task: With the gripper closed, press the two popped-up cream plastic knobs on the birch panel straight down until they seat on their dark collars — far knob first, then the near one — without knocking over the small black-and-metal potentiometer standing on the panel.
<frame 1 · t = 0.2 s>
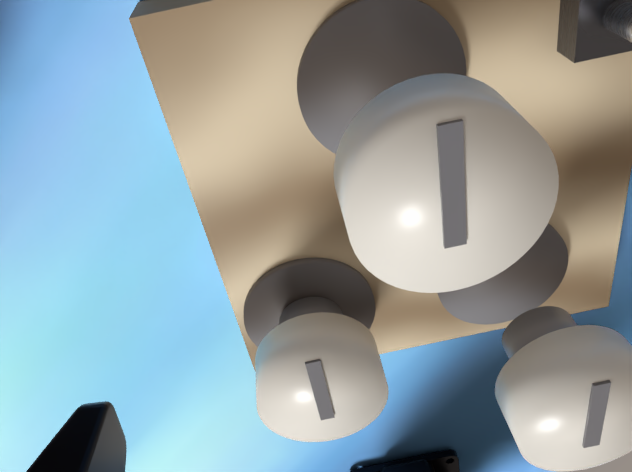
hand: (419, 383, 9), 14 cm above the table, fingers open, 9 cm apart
knob a: (563, 377, 19), point 8 cm above the table, slide at 3.0 cm
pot: (597, 5, 18), point 2 cm above the table, touching panel
knob c: (316, 359, 22), point 5 cm above the table, slide at 0.0 cm
panel: (407, 167, 23), on the table
knob b: (428, 167, 14), point 8 cm above the table, slide at 3.0 cm
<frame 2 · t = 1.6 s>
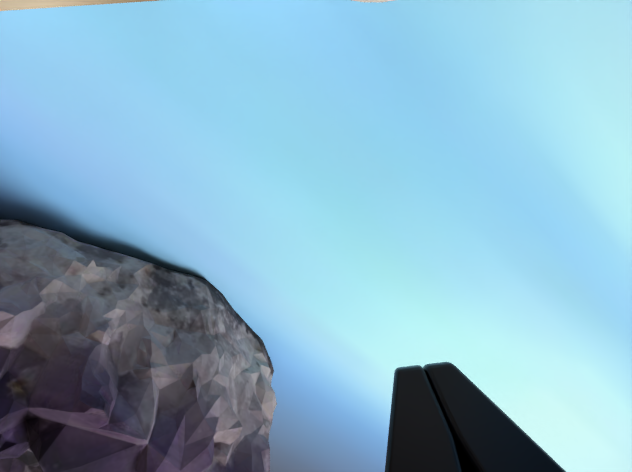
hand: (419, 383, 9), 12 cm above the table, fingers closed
geode: (30, 300, 22), on the table
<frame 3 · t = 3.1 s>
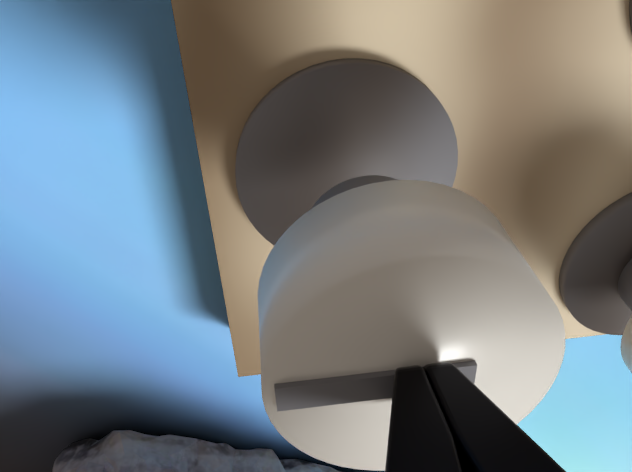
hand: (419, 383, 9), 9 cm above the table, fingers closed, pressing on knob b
panel: (498, 84, 16), on the table
knob b: (387, 294, 10), point 7 cm above the table, slide at 2.1 cm, touching gripper
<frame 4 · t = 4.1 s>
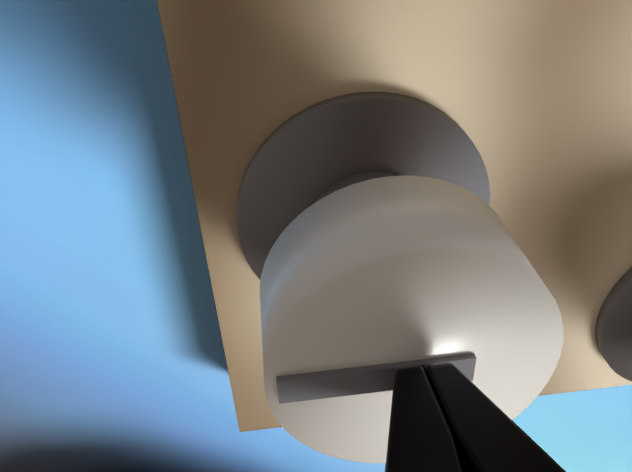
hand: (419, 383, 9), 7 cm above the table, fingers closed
panel: (531, 114, 14), on the table
knob b: (387, 289, 10), point 5 cm above the table, slide at -0.1 cm
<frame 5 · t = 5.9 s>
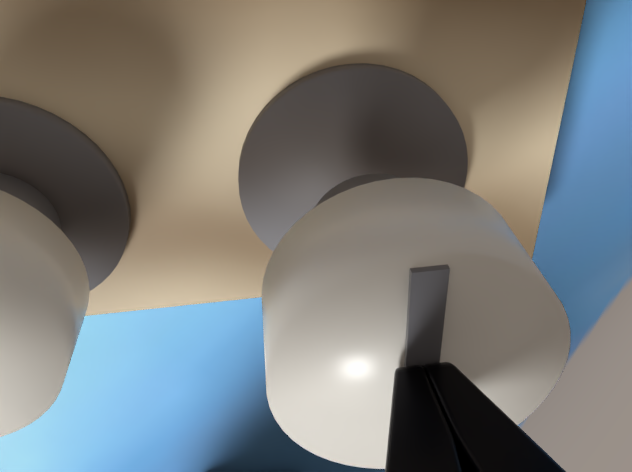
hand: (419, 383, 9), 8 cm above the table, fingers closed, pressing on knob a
knob a: (391, 292, 10), point 6 cm above the table, slide at 1.6 cm, touching gripper
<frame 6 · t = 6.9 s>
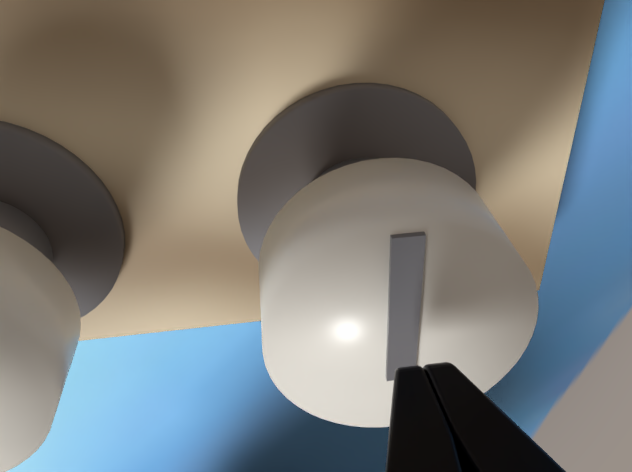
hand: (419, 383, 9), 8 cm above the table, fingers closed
knob a: (378, 266, 11), point 5 cm above the table, slide at -0.1 cm
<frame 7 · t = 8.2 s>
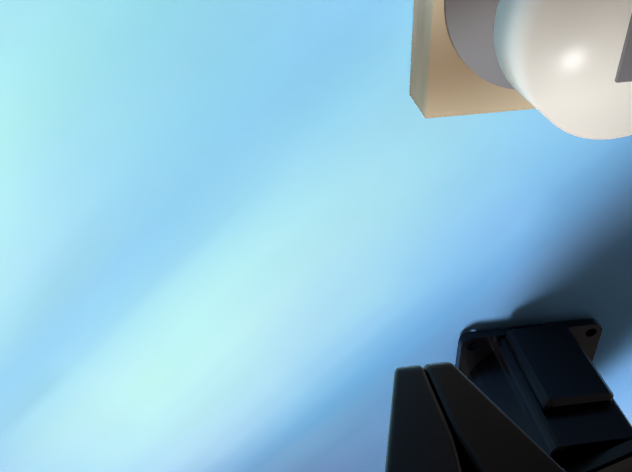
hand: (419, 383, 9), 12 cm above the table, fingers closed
knob c: (590, 14, 14), point 5 cm above the table, slide at 0.0 cm
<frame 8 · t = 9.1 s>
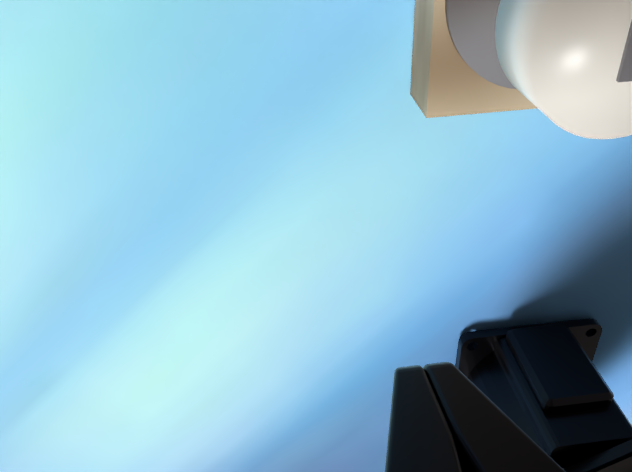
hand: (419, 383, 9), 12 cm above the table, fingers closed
knob c: (591, 14, 14), point 5 cm above the table, slide at 0.0 cm
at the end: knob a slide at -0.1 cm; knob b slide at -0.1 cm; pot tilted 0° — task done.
